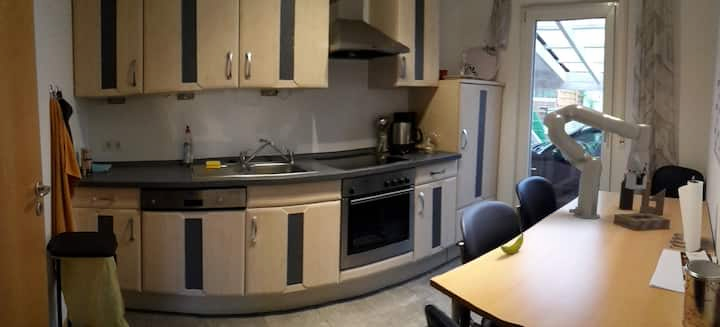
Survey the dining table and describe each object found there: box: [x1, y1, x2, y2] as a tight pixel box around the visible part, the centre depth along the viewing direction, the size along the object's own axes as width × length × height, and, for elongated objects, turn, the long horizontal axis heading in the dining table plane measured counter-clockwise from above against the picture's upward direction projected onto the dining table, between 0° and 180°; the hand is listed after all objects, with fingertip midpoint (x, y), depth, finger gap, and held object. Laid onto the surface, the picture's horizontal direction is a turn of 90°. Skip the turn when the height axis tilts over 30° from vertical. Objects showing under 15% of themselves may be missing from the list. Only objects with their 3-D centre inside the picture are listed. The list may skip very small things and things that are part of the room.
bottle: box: [618, 172, 635, 211], centre depth 297 cm, size 7×7×20 cm
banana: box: [500, 233, 525, 255], centre depth 210 cm, size 3×19×6 cm, turn 139°
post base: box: [613, 212, 671, 232], centre depth 260 cm, size 20×14×4 cm
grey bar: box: [625, 171, 649, 190], centre depth 273 cm, size 9×4×8 cm, turn 105°
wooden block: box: [639, 179, 667, 217], centre depth 287 cm, size 4×11×18 cm, turn 55°
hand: (636, 183), depth 273 cm, fingers closed on grey bar, 4 cm apart
